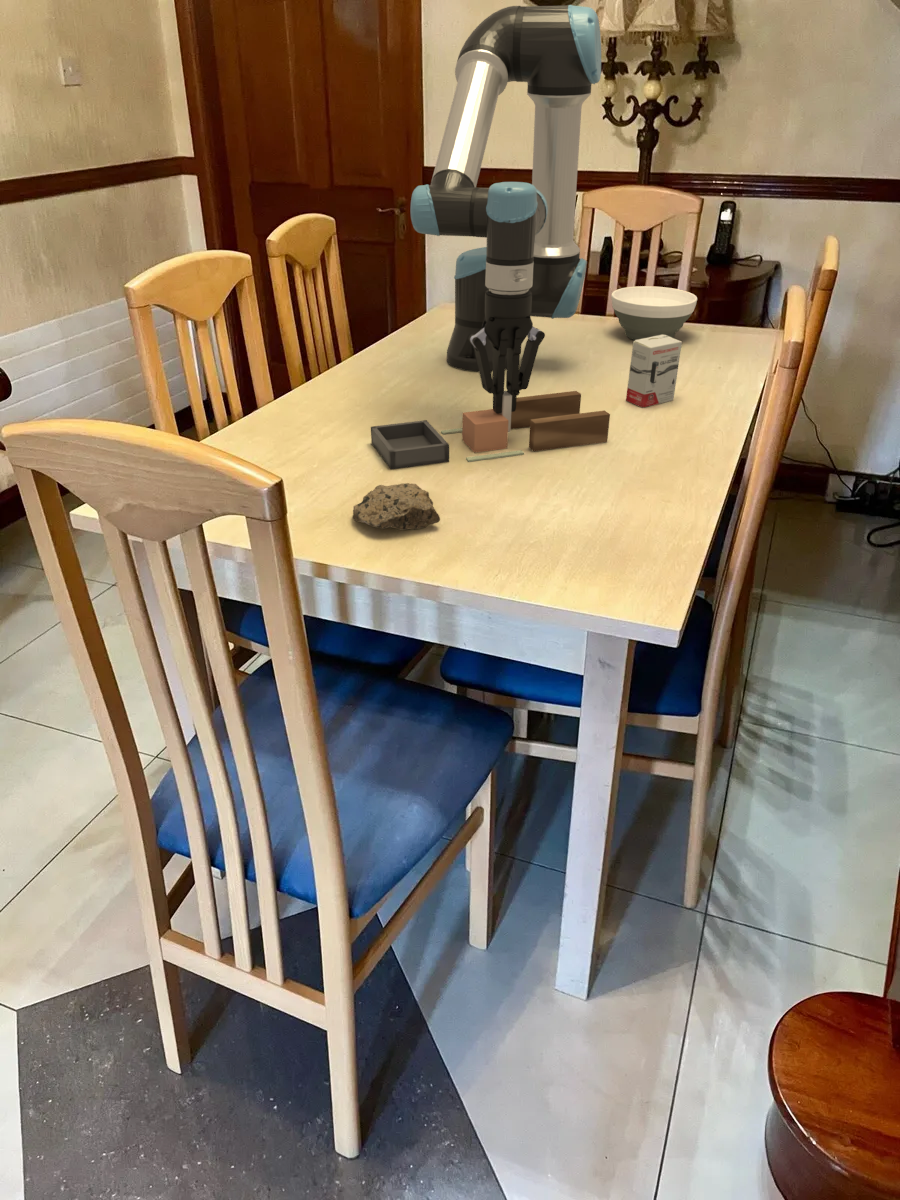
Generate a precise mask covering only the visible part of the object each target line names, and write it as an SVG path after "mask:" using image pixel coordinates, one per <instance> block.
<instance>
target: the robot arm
mask: <svg viewBox="0 0 900 1200" xmlns="http://www.w3.org/2000/svg"><path fill="white" fill-rule="evenodd" d="M600 28H601V27H600V21H599V17H598V14H597V12H596V10H594V9H593V8H592V7H590V6H579V5H573V4H567V5H527V6H523V5H522V6H521V5H510V6H506V7H504V8H501V9H499V10H497V11H495V12H493V13H491V14H490V15H488V16H487V17H486V18H485V19H483V20H482V21H481V23H479V24H478V25H477V26H476V27H475V29H474V30H473V31H472V32H471V33H470V35H469V36H468V38H467V39H466V40H465V42H464V44H463V45H462V48H461V50H460V52H459V54H458V57H457V61H456V65H455V68H454V69H455V70H454V76H455V80H456V82H457V83H456V87H455V91H454V95H453V98H452V102H451V106H450V110H449V113H448V117H447V120H446V125H445V128H444V133H443V135H442V140H441V143H440V147H439V151H438V155H437V159H436V162H435V167H434V170H433V174H432V178H431V181H430V184H424V185H417V186H416V187H415V188H414V189H413V191H412V194H411V198H410V199H411V200H410V211H409V212H410V220H411V224H412V227H413V229H414V231H415V232H417V233H419V234H423V235H430V236H431V235H432V236H437V237H440V236H442V237H443V236H449V237H473V238H475V237H476V238H485V239H486V246H483V247H477V248H473V249H469V250H466V251H463V252H461V253H459V255H458V256H457V258H456V262H455V275H454V277H453V278H454V290H455V291H454V328H453V331H452V333H451V337H450V340H449V343H448V346H447V349H446V364H448V365H449V366H451V367H452V368H455V369H458V370H462V371H469V372H478V373H479V377H480V378H479V379H480V381H481V386H482V388H483V389H484V390H485V391H486V392H487V393H488V394H492V409H493V411H494V412H495V413H497V414H498V413H501V414H502V415H503V416H504V417H505V418H506V419H507V420H508V433H511V431H512V429H511V412H514V411H515V410H516V399H517V398H518V396H519V395H520V393H521V392H520V391H522V390H527V389H528V387H529V383H530V380H531V376H532V373H533V370H534V369H533V368H534V364H535V362H536V358H537V354H538V351H539V347H540V345H541V343H542V342H543V340H544V339H545V337H546V332H544V331H542V330H541V329H539V328H536V327H535V326H534V325H533V320H532V317H537V318H538V317H539V318H549V319H569V318H571V317H573V316H574V315H575V314H576V312H577V309H578V305H579V303H580V300H581V295H582V291H583V287H584V281H585V279H586V273H587V264H588V261H587V260H586V259H584V258H582V257H581V256H580V255H581V253H580V252H581V248H580V247H579V246H578V244H577V243H576V242H575V241H574V227H575V215H576V214H575V213H576V198H577V197H576V196H577V184H578V183H577V182H578V167H579V166H578V165H579V151H580V140H581V139H580V135H581V124H582V123H581V122H582V121H581V120H582V107H583V104H584V102H585V101H587V99H588V98H589V97H590V96H591V95H592V84H593V85H595V84H598V83H599V82H601V81H600V80H601V76H602V75H601V74H602V36H601V29H600ZM510 82H511V83H513V82H516V83H526V84H527V89H526V90H527V92H526V93H527V94H526V95H528V97H529V98H530V99H531V101H532V102H533V103H534V123H533V124H534V127H533V129H534V130H533V148H532V149H533V150H532V151H533V153H532V173H531V174H532V175H531V180H532V181H531V183H529V182H523V181H502V182H495V183H493V184H491V185H490V186H489V187H477V184H478V181H479V180H478V179H479V177H480V172H481V168H482V163H483V160H484V155H485V152H486V148H487V143H488V140H489V135H490V131H491V126H492V122H493V118H494V114H495V110H496V107H497V103H498V98H499V96H500V95H502V93H503V92H504V91H505V89H506V88H507V86H508V83H510ZM580 257H581V258H580ZM526 338H527V339H526ZM525 339H526V343H525V346H524V350H523V353H522V344H523V342H524V341H525ZM521 354H522V357H520V355H521ZM520 358H521V359H520ZM520 360H521V362H520ZM505 372H506V373H505ZM505 374H506V375H505ZM505 377H506V380H505ZM505 381H506V382H505ZM505 388H506V390H505Z"/></svg>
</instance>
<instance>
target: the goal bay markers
mask: <svg viewBox="0 0 900 1200" xmlns="http://www.w3.org/2000/svg"><path fill="white" fill-rule="evenodd" d="M458 433H462V427H459V428H452V429H451V428H450V429H445V430H444V429H443V430H440V434H442V435H450V434H458ZM522 455H525V452H524V451H523V450H522V449H520V450H513V451H505V452H498V453H491V454H483V455H477V456H476V455H475V456H468V457H465V460H466V461H467V463H470V462H478V461H485V460H492V459H499V458H501V459H502V458H508V457H513V456H522Z"/></svg>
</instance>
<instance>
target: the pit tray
mask: <svg viewBox="0 0 900 1200" xmlns="http://www.w3.org/2000/svg"><path fill="white" fill-rule="evenodd" d="M370 436H371V438H370V439H371V441H370V442H371V445H372V446H373V447H374V448H375V450H376V451H377V453H378V454H379V455H380V457H381V458H382V460H384V462H385V463H386V465H387V466H388V468H389V469H390V470H397V469H406V468H413V467H420V466H427V465H428V466H429V465H435V464H443V463H450V444H449V442H447V440H446V439H445V438H444V437H443V436H442V435H441V433H439V432H438V431H437V430H436V429H435V427H434V426H433V425H431V423H430V422H429V421H428V420H427V419H424V420H415V421H407V422H399V423H398V422H397V423H391V424H389V423H388V424H381V425H375V426H370Z"/></svg>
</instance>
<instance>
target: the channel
mask: <svg viewBox="0 0 900 1200" xmlns="http://www.w3.org/2000/svg"><path fill="white" fill-rule="evenodd" d="M581 401H582V393H580V392H579V391H578V390H573V391H570V390H569V391H562V392H556V393H555V392H554V393H544V394H538V395H537V394H536V395H528V396H527V395H526V396H517V399H516V410H515V411H514V412H511V430H514V429H522V428H523V429H525V428H529V439H528V449H530V450H531V451H532V452H540V451H541V452H542V451H548V450H549V451H550V450H556V449H557V450H558V449H564V448H569V447H571V448H572V447H578V446H585V445H586V446H587V445H595V444H601V443H608V438H609V428H610V419H611V418H610V416H611V413H609V412H608V411H606V410H596V411H590V412H589V411H588V412H583V413H582V412H581Z"/></svg>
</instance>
